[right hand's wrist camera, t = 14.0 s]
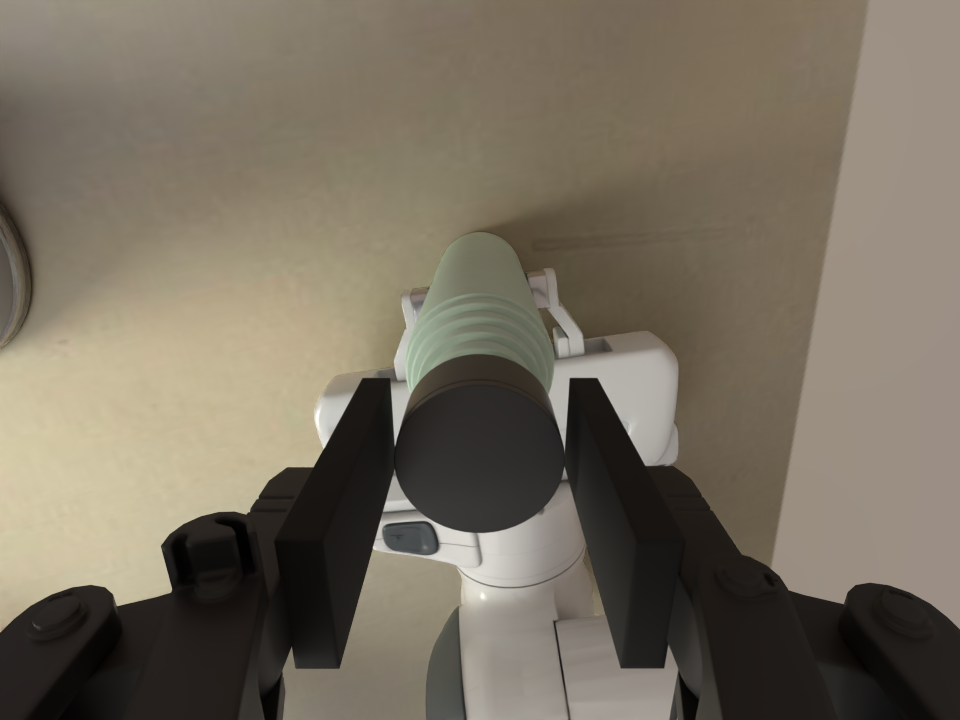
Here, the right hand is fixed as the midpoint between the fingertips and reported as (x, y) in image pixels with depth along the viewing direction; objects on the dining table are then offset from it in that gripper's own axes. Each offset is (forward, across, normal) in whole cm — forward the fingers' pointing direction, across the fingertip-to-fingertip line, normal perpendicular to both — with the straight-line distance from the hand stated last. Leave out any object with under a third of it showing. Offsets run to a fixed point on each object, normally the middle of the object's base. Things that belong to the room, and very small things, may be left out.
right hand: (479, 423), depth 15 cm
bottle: (+21, 0, 0) cm, 21 cm away
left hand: (+15, 0, -1) cm, 15 cm away
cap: (-2, 0, 0) cm, 2 cm away
